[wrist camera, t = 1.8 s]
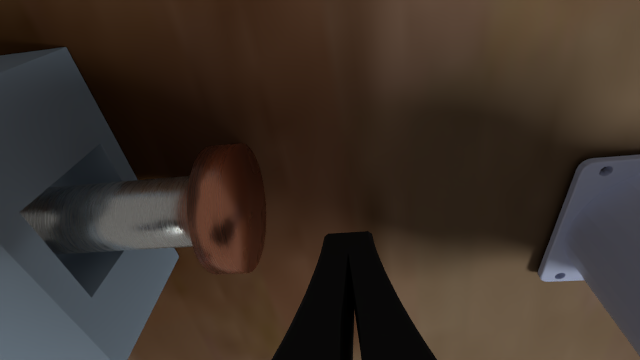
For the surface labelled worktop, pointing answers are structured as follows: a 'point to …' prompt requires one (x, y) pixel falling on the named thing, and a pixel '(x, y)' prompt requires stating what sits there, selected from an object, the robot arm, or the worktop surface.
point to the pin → (164, 213)
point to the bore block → (27, 246)
